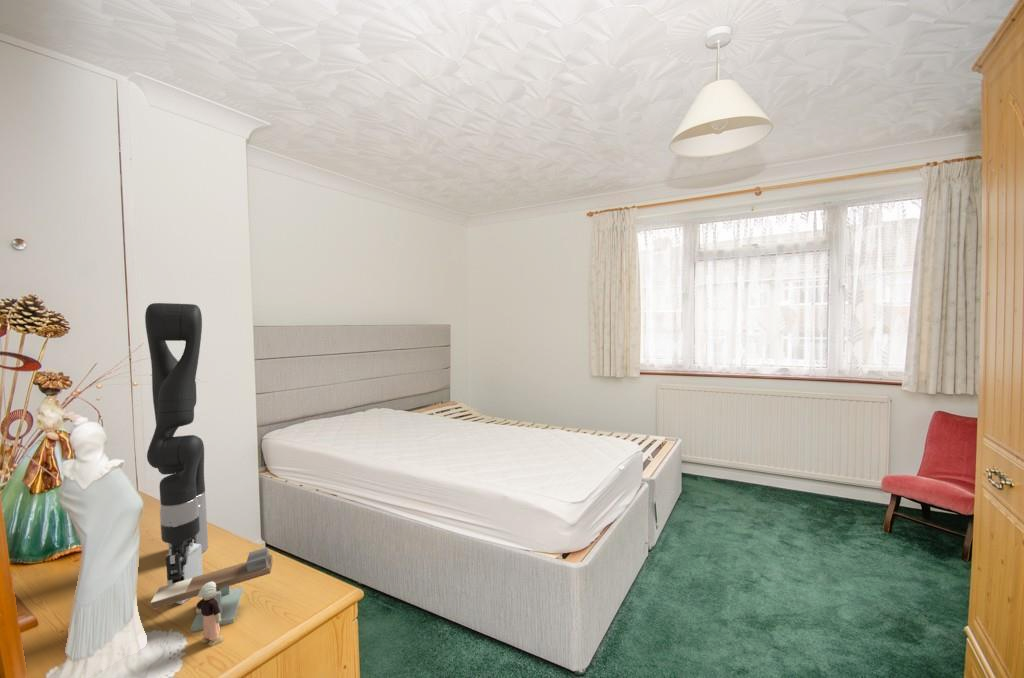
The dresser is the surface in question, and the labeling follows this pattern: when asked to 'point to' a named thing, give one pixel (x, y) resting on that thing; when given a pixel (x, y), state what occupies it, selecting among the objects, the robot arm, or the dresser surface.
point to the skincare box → (191, 565)
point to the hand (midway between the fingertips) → (184, 581)
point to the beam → (215, 579)
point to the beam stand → (222, 607)
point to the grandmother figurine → (210, 614)
